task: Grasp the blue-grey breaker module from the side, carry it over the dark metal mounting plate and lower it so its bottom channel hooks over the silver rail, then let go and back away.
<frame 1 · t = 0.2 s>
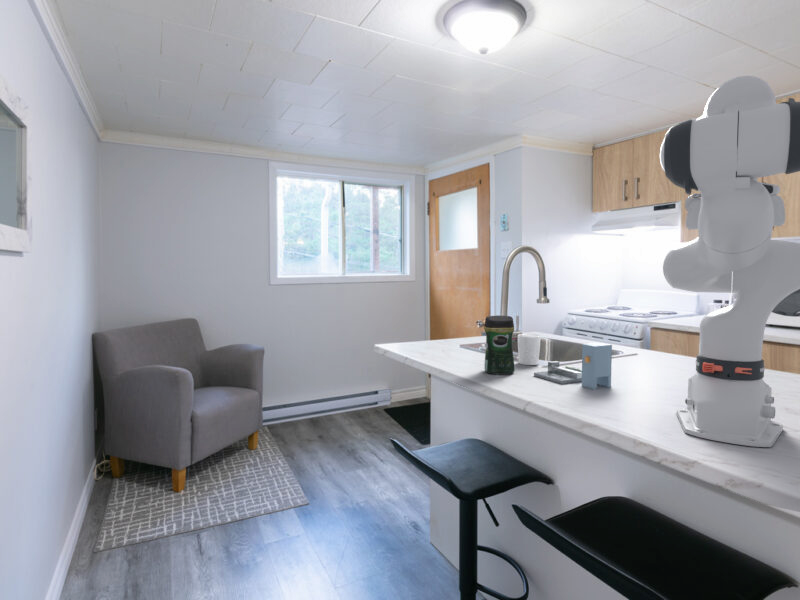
hand: (731, 246, 118), 39 cm above the table, tool pointing down, fingers open, 8 cm apart
module: (596, 386, 133), on the table
white cup: (528, 364, 165), on the table
coffee jar: (499, 372, 152), on the table
rail plate: (565, 377, 143), on the table
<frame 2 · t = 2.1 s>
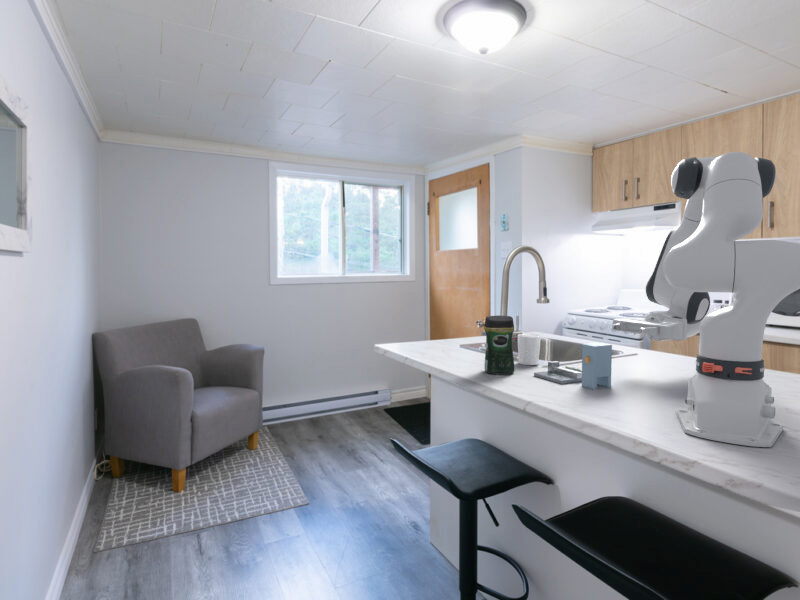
hand: (627, 329, 137), 16 cm above the table, tool horizontal, fingers open, 8 cm apart
nothing on the table moved.
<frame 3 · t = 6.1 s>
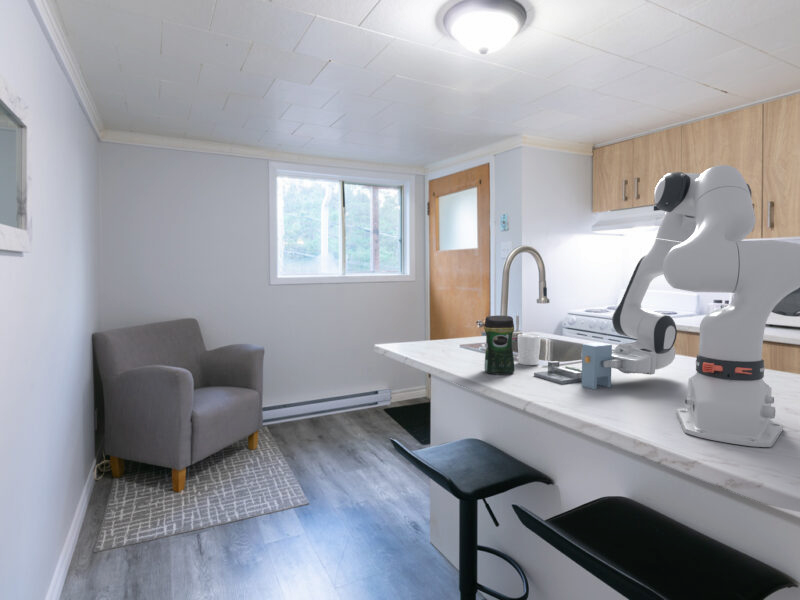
hand: (594, 362, 132), 7 cm above the table, tool horizontal, fingers closed on module, 4 cm apart
module: (596, 386, 133), on the table, touching gripper
everything else where it was.
when the fingers open (9 cm above the table, at t = 10.8 s): module drops 1 cm, resting on rail plate.
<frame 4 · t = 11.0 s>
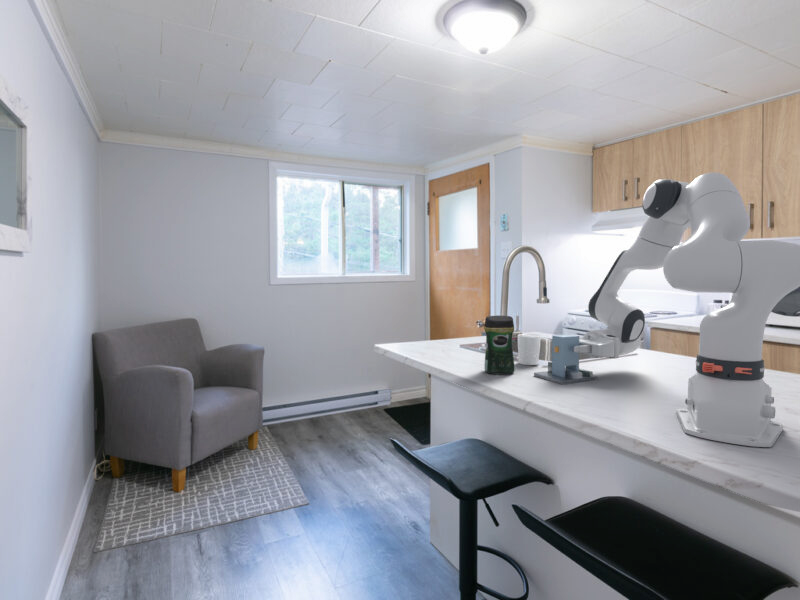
hand: (563, 347, 142), 9 cm above the table, tool horizontal, fingers open, 7 cm apart
module: (565, 374, 143), point 1 cm above the table, touching rail plate
everything else where it was.
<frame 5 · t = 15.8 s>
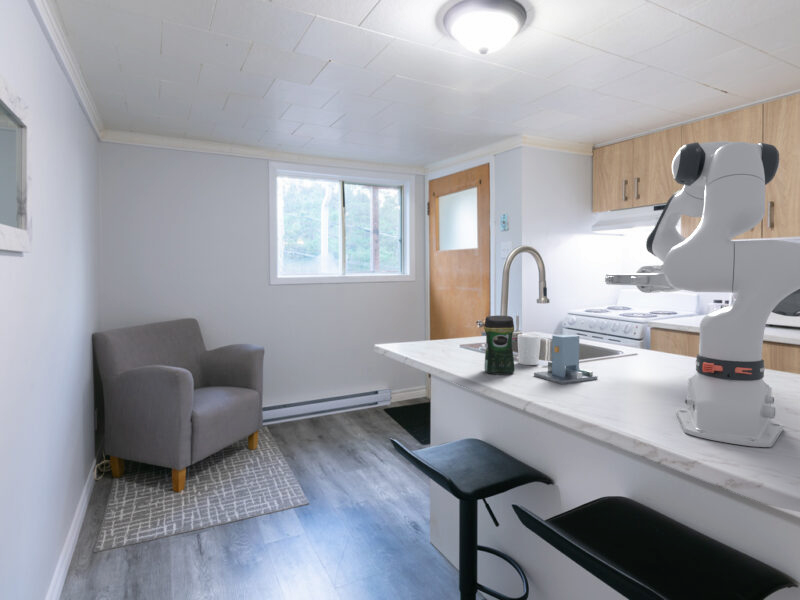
hand: (619, 279, 144), 30 cm above the table, tool horizontal, fingers open, 8 cm apart
nothing on the table moved.
at the end: module 0.0 cm off-centre on the rail plate, point 1.0 cm above the rail plate's base; module tilted 0°; the gripper is holding nothing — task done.
